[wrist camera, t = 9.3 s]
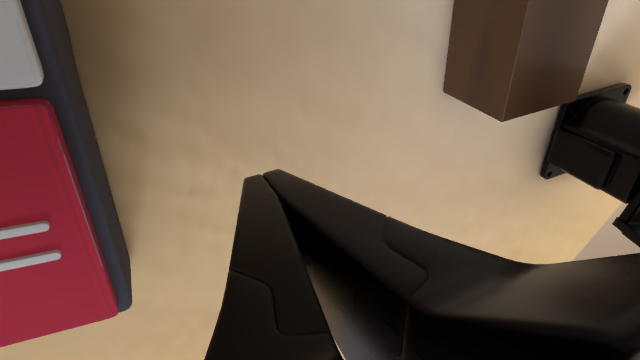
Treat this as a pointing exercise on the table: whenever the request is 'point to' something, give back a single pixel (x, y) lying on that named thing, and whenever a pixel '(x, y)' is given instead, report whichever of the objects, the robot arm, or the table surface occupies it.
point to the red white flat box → (52, 186)
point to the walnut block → (520, 53)
